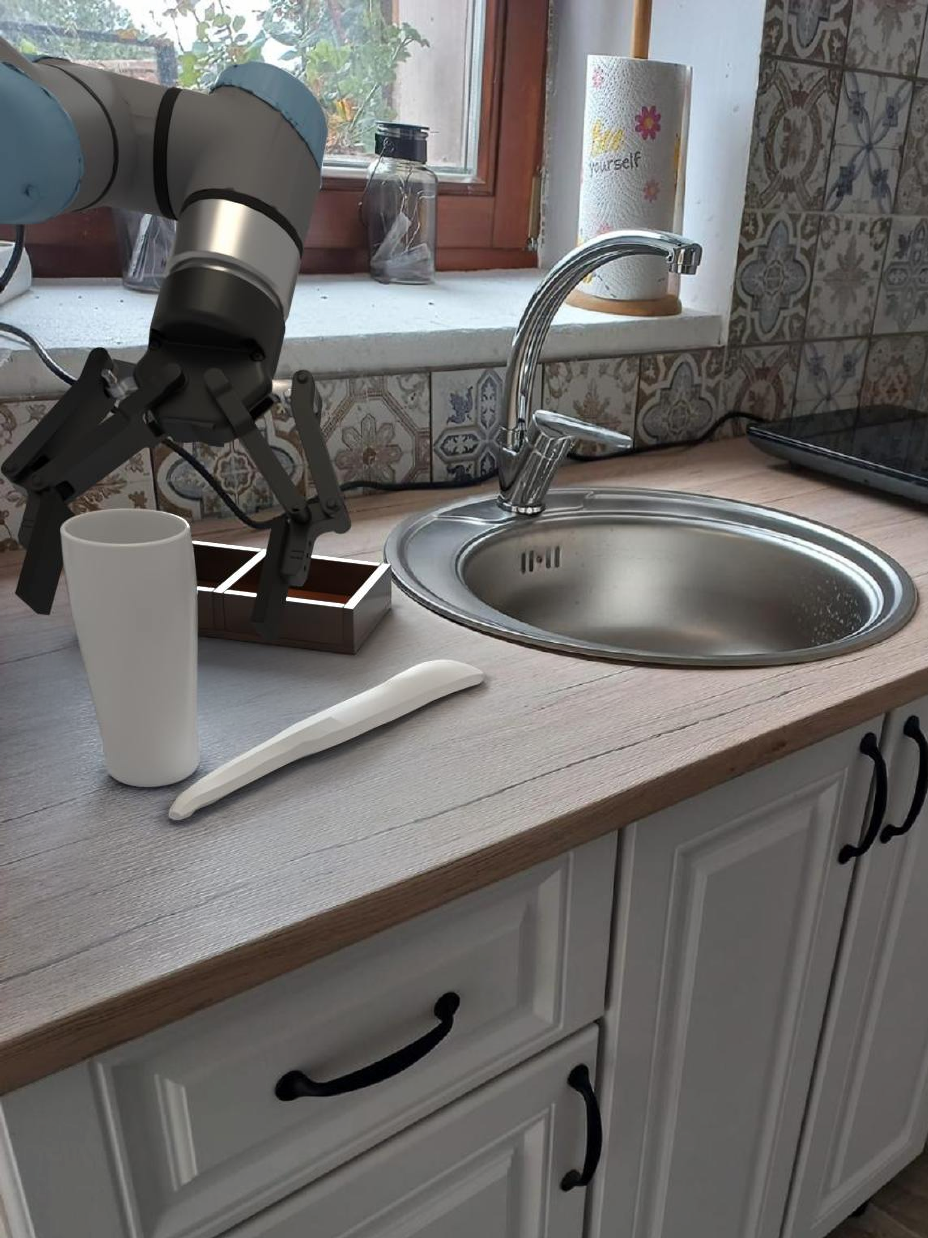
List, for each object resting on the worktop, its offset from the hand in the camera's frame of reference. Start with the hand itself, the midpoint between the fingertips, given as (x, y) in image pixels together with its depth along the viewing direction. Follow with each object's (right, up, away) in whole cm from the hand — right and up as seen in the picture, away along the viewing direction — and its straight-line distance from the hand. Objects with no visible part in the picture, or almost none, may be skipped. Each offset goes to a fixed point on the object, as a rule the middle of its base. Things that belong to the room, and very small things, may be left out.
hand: (147, 618), depth 71 cm
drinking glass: (-1, -9, +4) cm, 10 cm away
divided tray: (-2, +5, +26) cm, 27 cm away
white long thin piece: (+9, -6, +10) cm, 14 cm away
